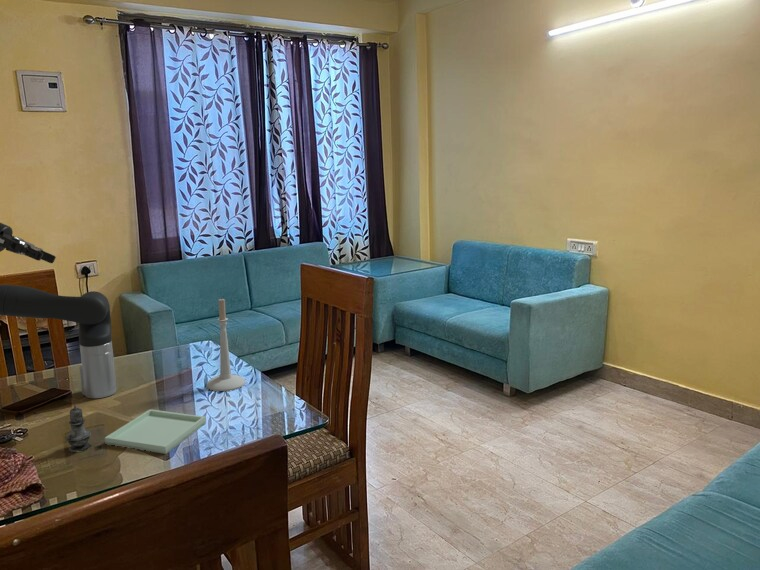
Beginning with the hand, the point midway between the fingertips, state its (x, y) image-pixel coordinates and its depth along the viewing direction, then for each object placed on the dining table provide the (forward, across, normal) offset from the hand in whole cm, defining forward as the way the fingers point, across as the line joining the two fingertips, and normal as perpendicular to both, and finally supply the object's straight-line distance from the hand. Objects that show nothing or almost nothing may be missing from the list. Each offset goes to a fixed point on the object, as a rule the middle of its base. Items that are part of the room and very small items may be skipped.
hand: (47, 258), depth 149 cm
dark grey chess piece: (+28, -1, -42) cm, 50 cm away
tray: (+44, -6, -32) cm, 55 cm away
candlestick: (+54, -39, -18) cm, 69 cm away
